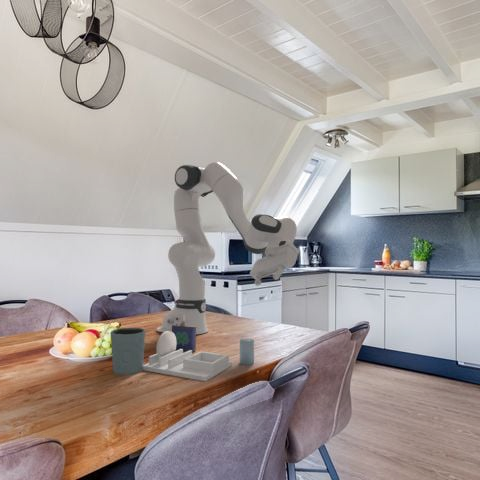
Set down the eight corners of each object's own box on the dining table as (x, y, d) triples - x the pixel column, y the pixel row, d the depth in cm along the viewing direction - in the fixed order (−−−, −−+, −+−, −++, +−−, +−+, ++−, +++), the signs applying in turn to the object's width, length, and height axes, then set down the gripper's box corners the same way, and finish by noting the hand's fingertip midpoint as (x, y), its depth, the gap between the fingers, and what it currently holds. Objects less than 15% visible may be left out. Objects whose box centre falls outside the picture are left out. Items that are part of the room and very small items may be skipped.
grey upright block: (237, 363, 124) (237, 340, 124) (243, 360, 128) (243, 338, 128) (250, 365, 122) (250, 342, 122) (256, 361, 126) (256, 339, 126)
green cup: (125, 379, 109) (126, 335, 109) (102, 372, 114) (102, 331, 115) (152, 369, 118) (152, 329, 118) (129, 363, 123) (129, 325, 123)
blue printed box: (196, 350, 138) (197, 320, 139) (193, 352, 136) (193, 322, 136) (173, 348, 141) (173, 319, 141) (169, 350, 138) (169, 320, 138)
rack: (141, 369, 116) (142, 335, 116) (172, 356, 131) (173, 326, 131) (205, 381, 107) (206, 343, 107) (231, 365, 121) (231, 332, 122)
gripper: (253, 255, 151) (241, 282, 143) (291, 238, 137) (280, 268, 128) (263, 264, 153) (252, 292, 145) (302, 249, 139) (293, 280, 130)
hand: (266, 281), depth 136 cm, fingers open, 8 cm apart
